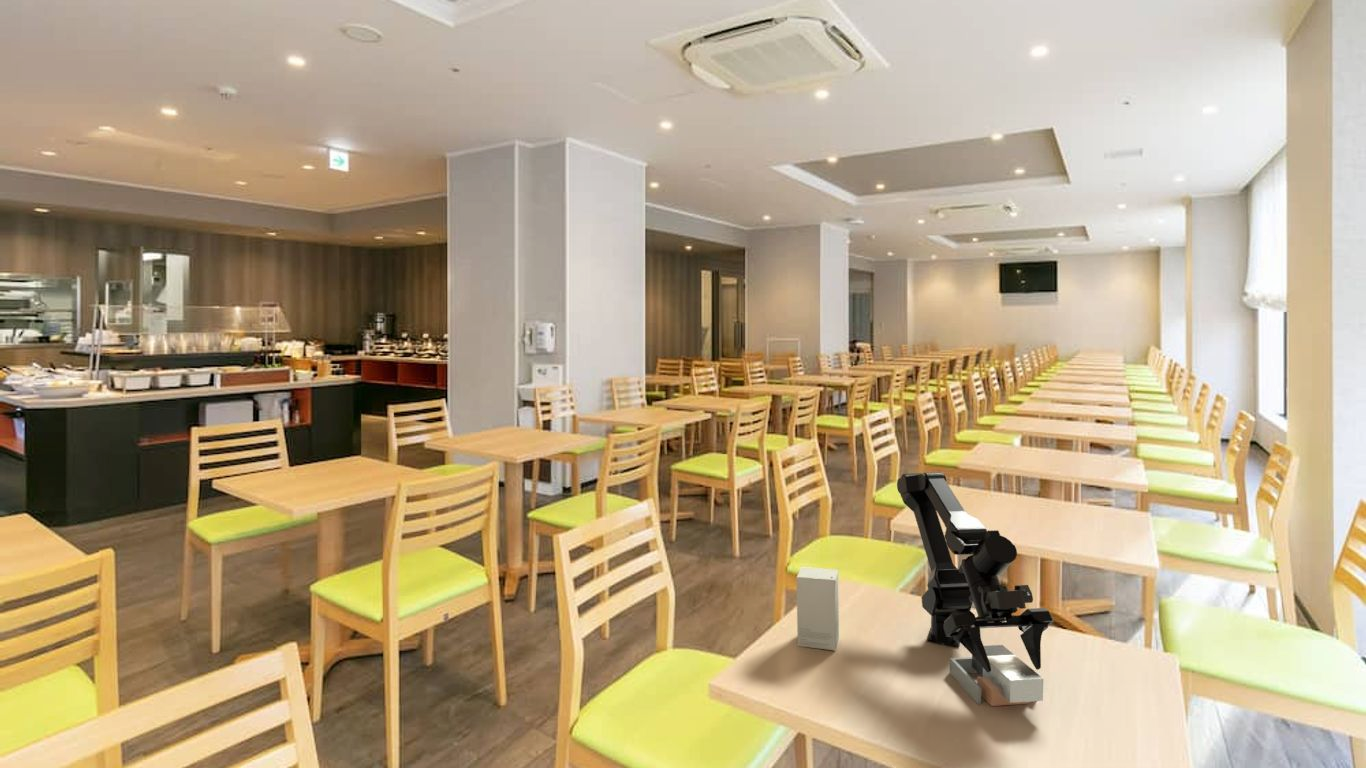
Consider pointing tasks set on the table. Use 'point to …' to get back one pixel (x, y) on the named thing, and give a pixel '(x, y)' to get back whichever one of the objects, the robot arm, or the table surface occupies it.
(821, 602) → the skincare box
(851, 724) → the table surface
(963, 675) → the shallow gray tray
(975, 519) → the robot arm
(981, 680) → the tan block
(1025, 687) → the gray capped pillar
